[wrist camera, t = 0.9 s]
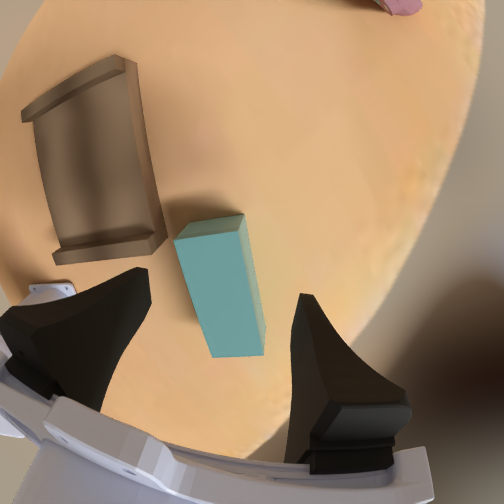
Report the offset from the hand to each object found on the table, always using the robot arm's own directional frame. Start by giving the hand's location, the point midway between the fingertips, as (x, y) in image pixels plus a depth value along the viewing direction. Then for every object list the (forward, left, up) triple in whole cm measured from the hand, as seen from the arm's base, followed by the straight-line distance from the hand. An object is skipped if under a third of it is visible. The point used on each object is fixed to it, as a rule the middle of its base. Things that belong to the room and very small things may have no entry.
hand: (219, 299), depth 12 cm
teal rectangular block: (-2, -4, -10) cm, 11 cm away
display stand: (-12, +7, -10) cm, 17 cm away
